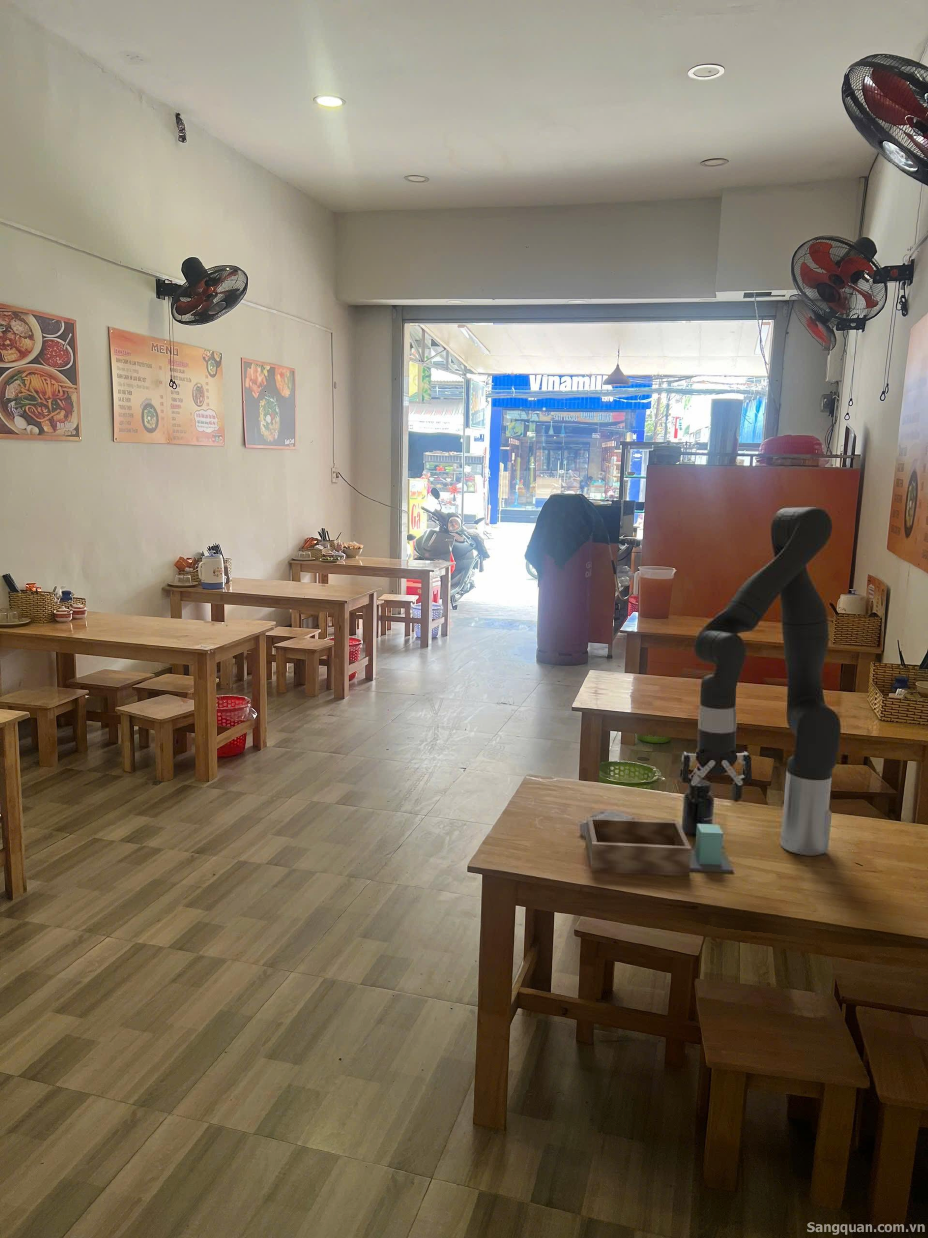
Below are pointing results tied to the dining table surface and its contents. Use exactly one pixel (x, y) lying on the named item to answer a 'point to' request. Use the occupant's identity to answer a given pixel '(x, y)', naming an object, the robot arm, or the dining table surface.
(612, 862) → the crate
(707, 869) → the mat
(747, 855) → the dining table surface
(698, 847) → the block
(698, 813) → the supplement bottle
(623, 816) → the stone block
